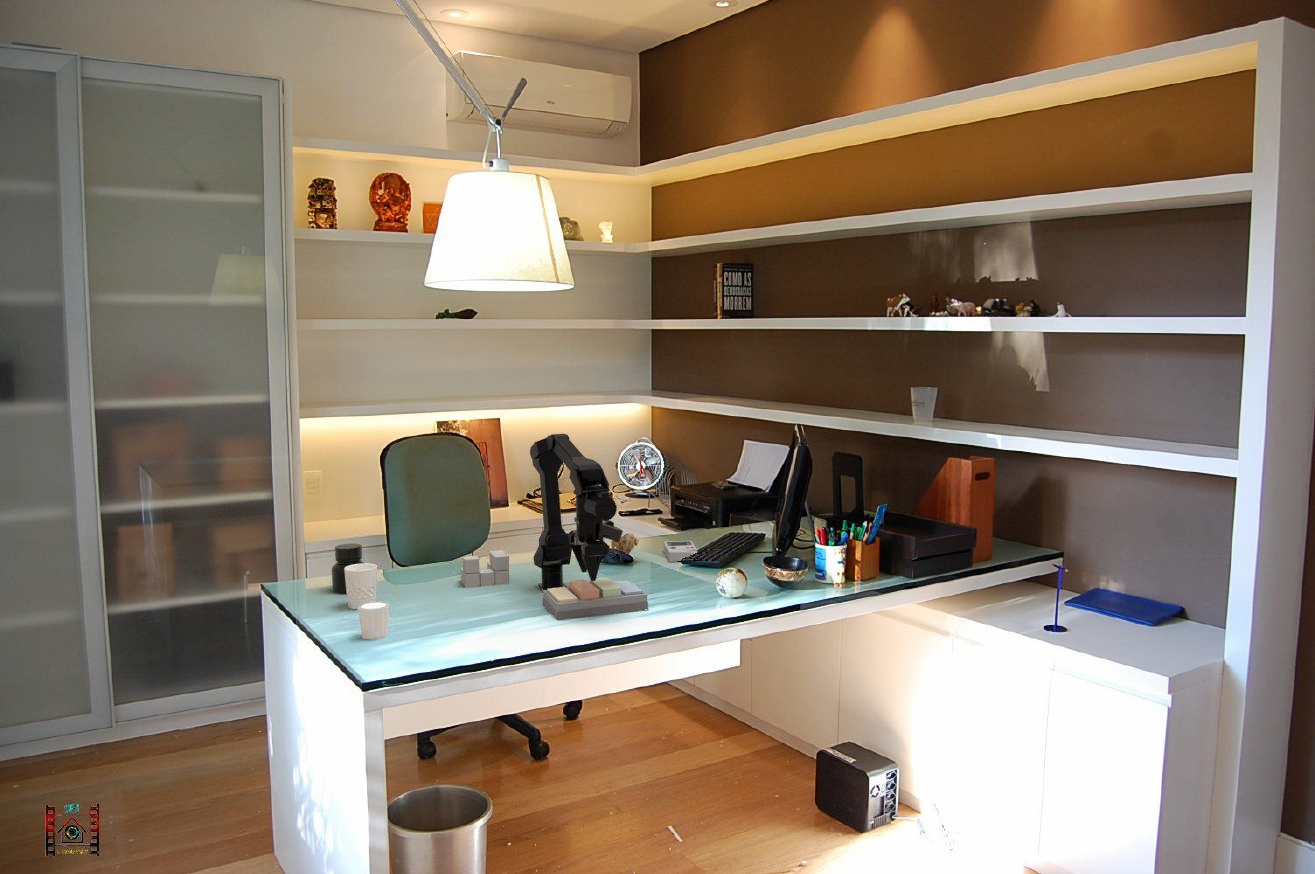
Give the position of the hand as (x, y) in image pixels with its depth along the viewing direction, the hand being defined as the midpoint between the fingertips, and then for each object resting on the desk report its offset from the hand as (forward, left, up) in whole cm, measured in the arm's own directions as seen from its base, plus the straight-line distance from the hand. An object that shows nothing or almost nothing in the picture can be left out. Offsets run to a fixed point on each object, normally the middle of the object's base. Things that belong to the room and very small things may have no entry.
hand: (588, 576), depth 237 cm
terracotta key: (0, -1, -5) cm, 5 cm away
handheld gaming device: (-43, +42, -9) cm, 61 cm away
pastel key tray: (0, +2, -8) cm, 8 cm away
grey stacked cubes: (-37, -19, -9) cm, 43 cm away
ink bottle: (-41, -54, -8) cm, 69 cm away
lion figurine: (-46, +24, -8) cm, 53 cm away
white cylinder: (+2, -51, -8) cm, 52 cm away
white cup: (-24, -52, -8) cm, 58 cm away
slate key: (0, +10, -6) cm, 12 cm away
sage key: (0, +4, -5) cm, 6 cm away
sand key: (0, -7, -6) cm, 9 cm away
